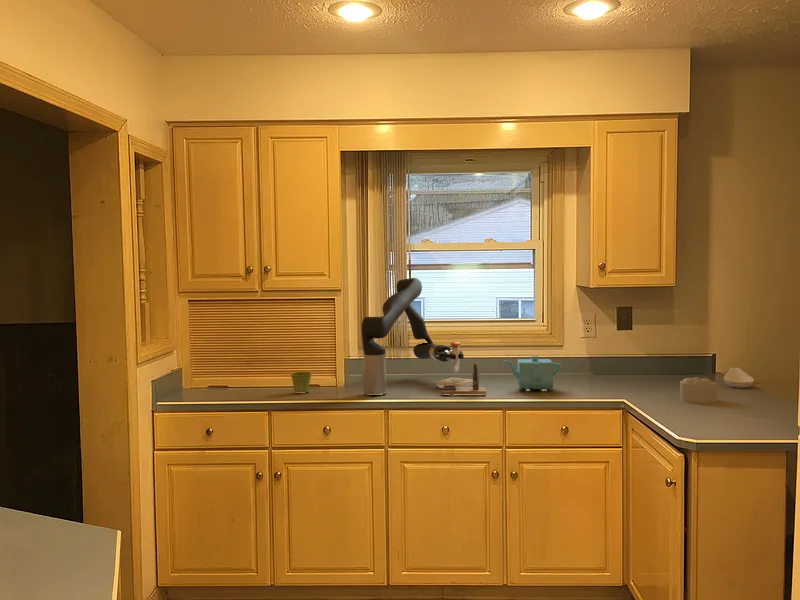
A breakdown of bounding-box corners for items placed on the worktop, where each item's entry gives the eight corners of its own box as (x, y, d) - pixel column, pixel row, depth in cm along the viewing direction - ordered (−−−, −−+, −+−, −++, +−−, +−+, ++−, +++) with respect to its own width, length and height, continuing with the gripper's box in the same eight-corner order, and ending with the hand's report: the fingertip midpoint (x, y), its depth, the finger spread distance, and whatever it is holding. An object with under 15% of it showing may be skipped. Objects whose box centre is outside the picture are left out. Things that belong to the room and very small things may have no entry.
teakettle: (565, 389, 308) (565, 355, 308) (537, 395, 296) (537, 359, 296) (531, 385, 323) (530, 352, 322) (503, 390, 311) (502, 356, 310)
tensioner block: (485, 395, 297) (485, 363, 297) (442, 396, 299) (441, 364, 298) (484, 391, 307) (484, 360, 307) (442, 392, 309) (442, 361, 308)
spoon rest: (757, 390, 299) (757, 373, 299) (726, 389, 302) (726, 372, 302) (745, 381, 322) (745, 365, 322) (717, 380, 325) (717, 365, 325)
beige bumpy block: (679, 397, 284) (679, 376, 284) (715, 399, 280) (715, 377, 280) (681, 402, 274) (681, 380, 274) (718, 403, 270) (718, 381, 270)
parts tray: (459, 390, 313) (459, 383, 312) (437, 387, 320) (437, 381, 320) (474, 386, 322) (474, 379, 322) (453, 384, 329) (452, 377, 329)
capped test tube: (457, 372, 318) (456, 343, 317) (449, 371, 321) (448, 342, 320) (462, 371, 321) (462, 342, 321) (454, 370, 324) (454, 341, 323)
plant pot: (314, 393, 312) (314, 373, 311) (293, 395, 308) (293, 375, 308) (309, 390, 320) (309, 371, 320) (288, 392, 317) (288, 372, 316)
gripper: (426, 345, 330) (444, 349, 315) (453, 343, 336) (472, 347, 321) (427, 361, 331) (445, 366, 315) (453, 359, 337) (472, 363, 321)
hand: (458, 356), depth 318 cm, fingers closed on capped test tube, 3 cm apart
